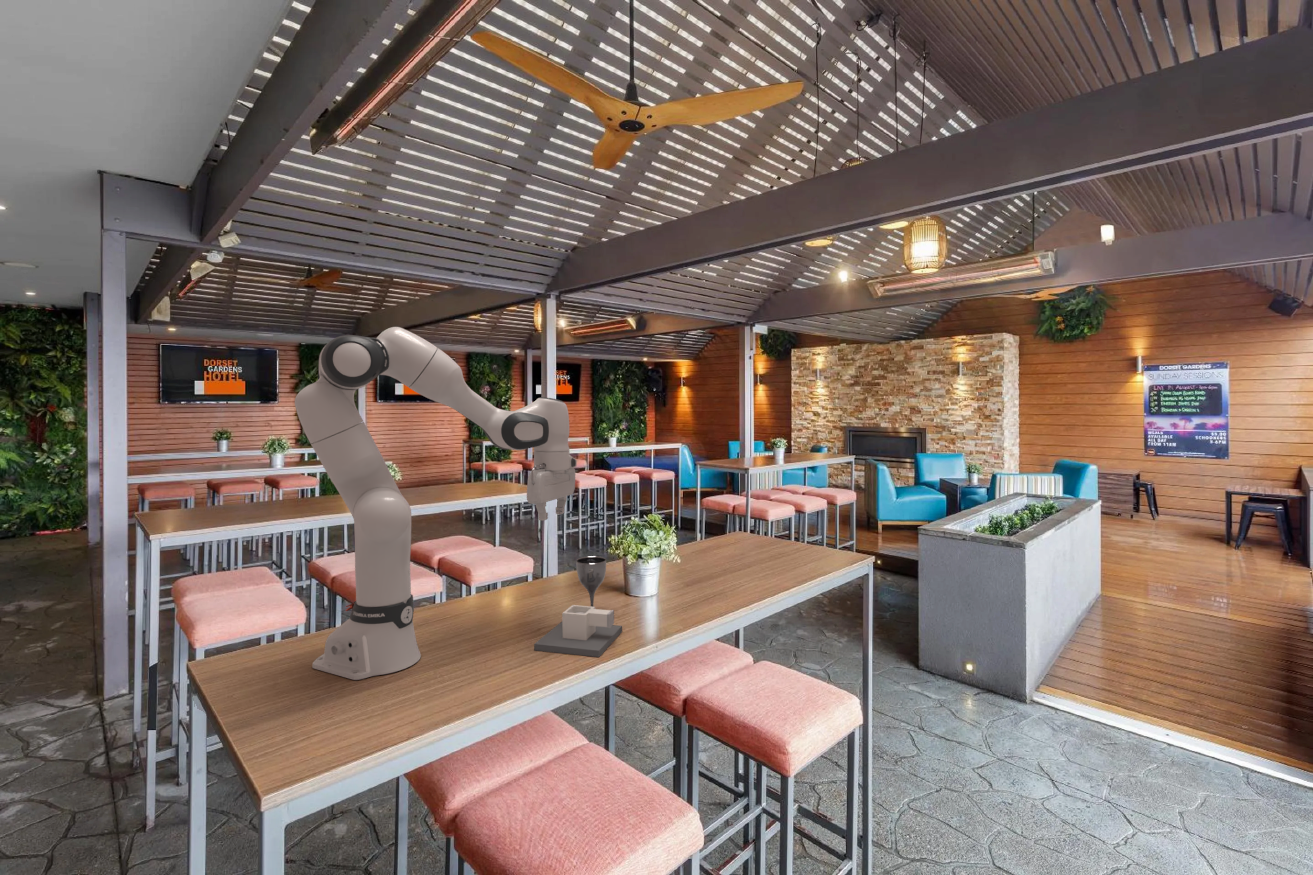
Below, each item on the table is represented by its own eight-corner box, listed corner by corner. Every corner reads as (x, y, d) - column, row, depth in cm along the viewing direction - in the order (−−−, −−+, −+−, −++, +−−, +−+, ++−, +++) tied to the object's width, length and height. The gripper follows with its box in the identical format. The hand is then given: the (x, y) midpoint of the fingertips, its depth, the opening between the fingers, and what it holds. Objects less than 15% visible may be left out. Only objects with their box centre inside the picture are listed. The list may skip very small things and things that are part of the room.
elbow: (562, 637, 143) (562, 612, 143) (572, 628, 149) (572, 604, 148) (607, 642, 140) (607, 616, 140) (616, 632, 146) (615, 608, 145)
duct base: (534, 650, 140) (533, 622, 139) (563, 626, 155) (562, 601, 155) (599, 657, 135) (598, 628, 135) (622, 631, 151) (621, 605, 150)
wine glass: (602, 620, 159) (601, 564, 158) (573, 618, 160) (572, 562, 160) (610, 610, 167) (609, 556, 166) (582, 608, 168) (581, 555, 168)
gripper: (544, 466, 141) (544, 524, 142) (579, 459, 161) (579, 511, 161) (519, 465, 143) (520, 523, 143) (557, 459, 163) (557, 510, 163)
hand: (551, 516), depth 153 cm, fingers open, 8 cm apart
